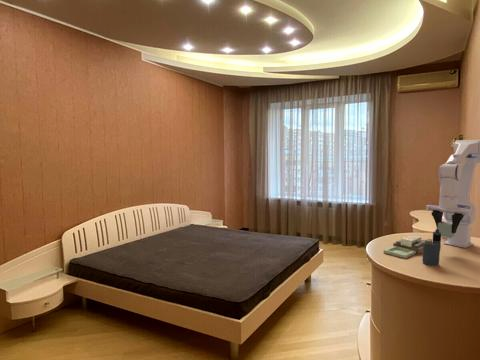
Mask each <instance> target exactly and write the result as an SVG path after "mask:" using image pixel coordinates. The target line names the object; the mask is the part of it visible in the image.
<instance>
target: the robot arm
mask: <svg viewBox="0 0 480 360" xmlns="http://www.w3.org/2000/svg"><path fill="white" fill-rule="evenodd" d="M478 163H480V139H460V140H459V139H456V140H455V141H454V142H453V153H452V154H451V155H450V156H449V157H448V158H447V161H446V162H445V163H443V164H440V165H439V168H438V183H439V199H438V200H439V201H438V205H432V204H427V205H425V211H431V212H430V213H431V215H432V216H431V217H433V220H434V223H435V228H436V227H437V229H438V223H439V222H442V216H443V212H444V218H445V220H447V222H451V223H452V233H455V236H454V237H452V238H447V239H446V241H444V242H443V244H444V245H450V246H454V247H459V248H463V249H465V248H468V247H470V246H472V245H473V244H474V243H473V242H471V239H472V237H471V236H472V227H471V225H472V224H473V223H474V222H475V220H476V209H477V207H476V206H475V204H474V203H472V202H471V201H470V196H471V190H472V184H473V181H474V175H475V171H476V167H477V164H478Z"/></svg>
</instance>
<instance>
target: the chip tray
mask: <svg viewBox="0 0 480 360" xmlns="http://www.w3.org/2000/svg"><path fill="white" fill-rule="evenodd" d="M383 254H385V255H388V256H393V257H396V258H401V259H408V258H410V257H412V256H414V255H417V254H416V251H415V250H410V249H406V248H402V247H397V246H393V245H392V246H391V247H388V248H386V249H383Z"/></svg>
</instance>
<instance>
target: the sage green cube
mask: <svg viewBox="0 0 480 360" xmlns="http://www.w3.org/2000/svg"><path fill="white" fill-rule="evenodd" d="M438 230H439V232H441V238H442V237H446V238H447V239H448V238H452V237H454V236H455V233H452V223H451V222H444V221H442V222H439V223H438Z"/></svg>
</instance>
